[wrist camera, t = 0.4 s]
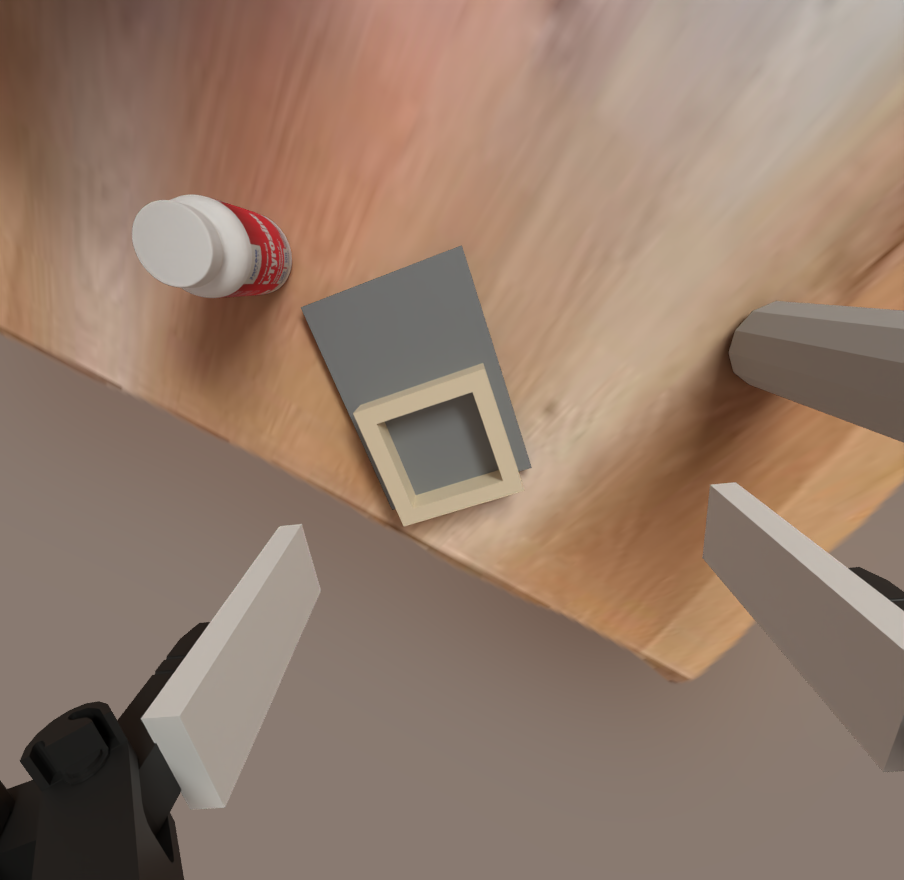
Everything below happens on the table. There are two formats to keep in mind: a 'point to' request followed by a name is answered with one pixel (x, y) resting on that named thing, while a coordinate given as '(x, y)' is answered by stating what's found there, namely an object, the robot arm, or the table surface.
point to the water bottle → (827, 360)
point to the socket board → (423, 387)
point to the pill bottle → (211, 247)
